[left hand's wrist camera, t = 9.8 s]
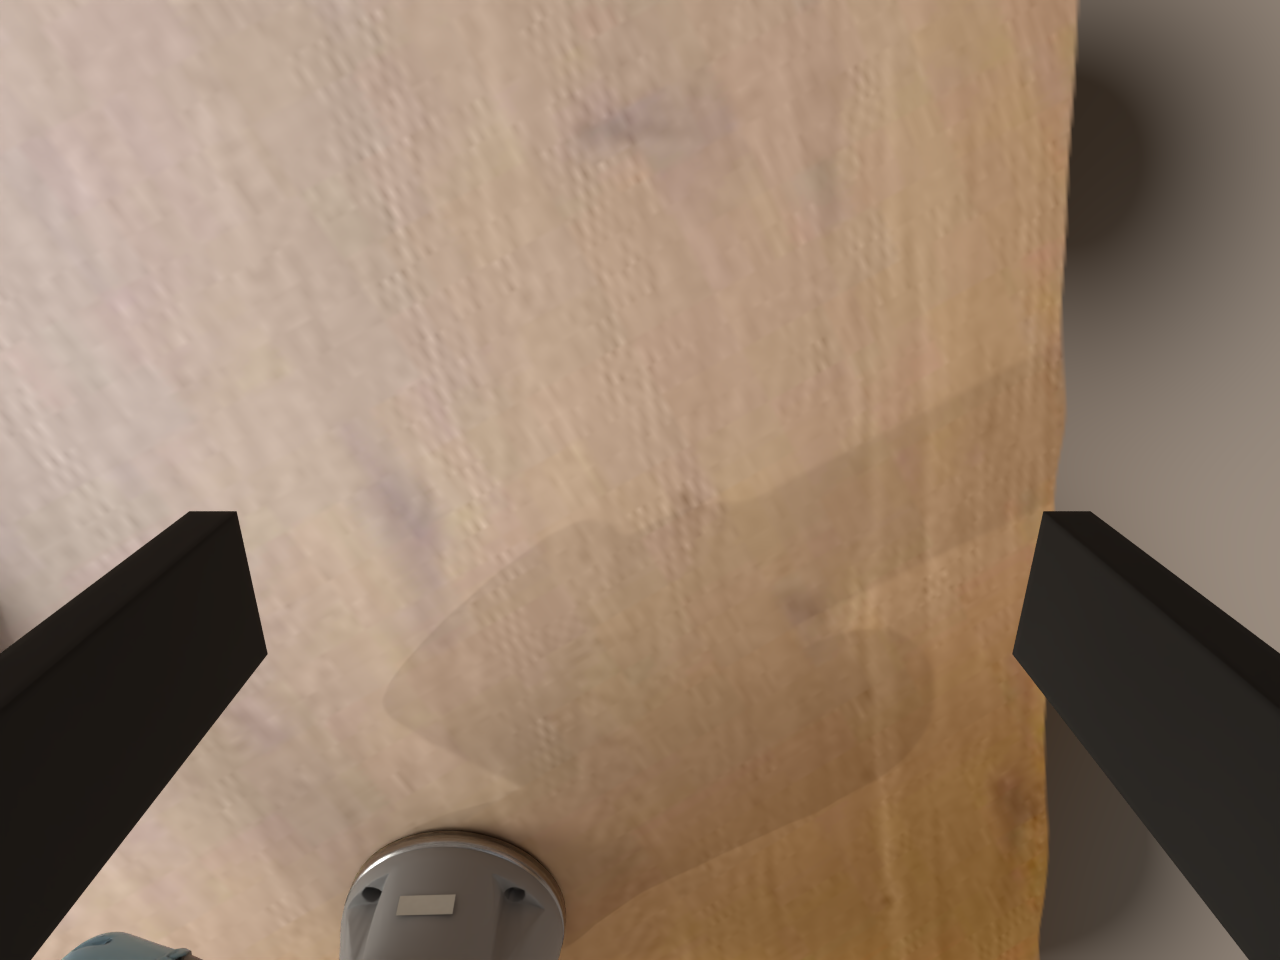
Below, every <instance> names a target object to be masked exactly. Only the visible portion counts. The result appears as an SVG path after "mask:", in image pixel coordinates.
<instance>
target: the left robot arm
mask: <svg viewBox="0 0 1280 960" xmlns="http://www.w3.org/2000/svg"><path fill="white" fill-rule="evenodd" d="M266 655H267V649H266V645H265V640H264V635H263V631H262V626H261V622H260V617H259V612H258V608H257V603H256V599H255V594H254V589H253V585H252V580H251V576H250V571H249V566H248V562H247V557H246V553H245V548H244V543H243V539H242V534H241V530H240V525H239V520H238V516H237V511H189V512H188V513H187V514H185V515H184V516H183V517H181V518H180V519H179V520H177V521H176V522H175V523H173V524H172V525H171V526H169V527H168V528H167V529H165V530H164V531H163V532H161V533H160V534H159V535H157V536H156V537H155V538H153V539H152V540H151V541H149V542H148V543H147V544H145V545H144V546H143V547H141V548H140V549H139V550H137V551H136V552H135V553H133V554H132V555H131V556H129V557H128V558H127V559H125V560H124V561H123V562H121V563H120V564H119V565H117V566H116V567H115V568H113V569H112V570H111V571H109V572H108V573H107V574H105V575H104V576H103V577H101V578H100V579H99V580H98V581H96V582H95V583H94V584H92V585H91V586H90V587H88V588H87V589H86V590H84V591H83V592H82V593H80V594H79V595H78V596H76V597H75V598H74V599H72V600H71V601H70V602H68V603H67V604H66V605H64V606H63V607H62V608H60V609H59V610H58V611H56V612H55V613H54V614H52V615H51V616H50V617H48V618H47V619H46V620H44V621H43V622H42V623H40V624H39V625H38V626H36V627H35V628H34V629H32V630H31V631H30V632H28V633H27V634H26V635H24V636H23V637H22V638H20V639H19V640H18V641H16V642H15V643H14V644H12V645H11V646H10V647H8V648H7V649H6V650H4V651H3V652H2V653H0V960H31V959H32V958H33V957H34V955H35V954H36V953H37V951H38V950H39V949H40V947H41V946H42V945H43V944H44V942H45V941H46V940H47V938H48V937H49V936H50V935H51V933H52V932H53V931H54V929H55V928H56V927H57V926H58V924H59V923H60V922H61V920H62V919H63V918H64V916H65V915H66V914H67V913H68V911H69V910H70V909H71V907H72V906H73V905H74V904H75V902H76V901H77V900H78V898H79V897H80V896H81V895H82V893H83V892H84V891H85V889H86V888H87V887H88V885H89V884H90V883H91V882H92V880H93V879H94V878H95V876H96V875H97V874H98V873H99V871H100V870H101V869H102V867H103V866H104V865H105V863H106V862H107V861H108V860H109V858H110V857H111V856H112V854H113V853H114V852H115V851H116V849H117V848H118V847H119V845H120V844H121V843H122V842H123V840H124V839H125V838H126V836H127V835H128V834H129V832H130V831H131V830H132V829H133V827H134V826H135V825H136V823H137V822H138V821H139V820H140V818H141V817H142V816H143V814H144V813H145V812H146V811H147V809H148V808H149V807H150V805H151V804H152V803H153V801H154V800H155V799H156V798H157V796H158V795H159V794H160V792H161V791H162V790H163V789H164V787H165V786H166V785H167V783H168V782H169V781H170V780H171V778H172V777H173V776H174V774H175V773H176V772H177V770H178V769H179V768H180V767H181V765H182V764H183V763H184V761H185V760H186V759H187V758H188V756H189V755H190V754H191V752H192V751H193V750H194V749H195V747H196V746H197V745H198V743H199V742H200V741H201V739H202V738H203V737H204V736H205V734H206V733H207V732H208V730H209V729H210V728H211V727H212V725H213V724H214V723H215V721H216V720H217V719H218V718H219V716H220V715H221V714H222V712H223V711H224V710H225V708H226V707H227V706H228V705H229V703H230V702H231V701H232V699H233V698H234V697H235V696H236V694H237V693H238V692H239V690H240V689H241V688H242V686H243V685H244V684H245V683H246V681H247V680H248V679H249V677H250V676H251V675H252V674H253V672H254V671H255V670H256V668H257V667H258V666H259V665H260V663H261V662H262V661H263V659H264V658H265V657H266ZM1013 655H1014V657H1015V658H1016V659H1017V661H1018V662H1019V663H1020V665H1021V666H1022V667H1023V668H1024V670H1025V671H1026V672H1027V674H1028V675H1029V676H1030V677H1031V679H1032V680H1033V681H1034V683H1035V684H1036V685H1037V686H1038V688H1039V689H1040V690H1041V692H1042V693H1043V694H1044V696H1045V697H1046V698H1047V699H1048V701H1049V702H1050V703H1051V705H1052V706H1053V707H1054V708H1055V710H1056V711H1057V712H1058V714H1059V715H1060V716H1061V718H1062V719H1063V720H1064V721H1065V723H1066V724H1067V725H1068V727H1069V728H1070V729H1071V730H1072V732H1073V733H1074V734H1075V736H1076V737H1077V738H1078V739H1079V741H1080V742H1081V743H1082V745H1083V746H1084V747H1085V749H1086V750H1087V751H1088V752H1089V754H1090V755H1091V756H1092V758H1093V759H1094V760H1095V761H1096V763H1097V764H1098V765H1099V767H1100V768H1101V769H1102V770H1103V772H1104V773H1105V774H1106V776H1107V777H1108V778H1109V779H1110V781H1111V782H1112V783H1113V785H1114V786H1115V787H1116V789H1117V790H1118V791H1119V792H1120V794H1121V795H1122V796H1123V798H1124V799H1125V800H1126V801H1127V803H1128V804H1129V805H1130V807H1131V808H1132V809H1133V811H1134V812H1135V813H1136V814H1137V816H1138V817H1139V818H1140V820H1141V821H1142V822H1143V823H1144V825H1145V826H1146V827H1147V829H1148V830H1149V831H1150V832H1151V834H1152V835H1153V836H1154V838H1155V839H1156V840H1157V842H1158V843H1159V844H1160V845H1161V847H1162V848H1163V849H1164V851H1165V852H1166V853H1167V854H1168V856H1169V857H1170V858H1171V860H1172V861H1173V862H1174V863H1175V865H1176V866H1177V867H1178V869H1179V870H1180V871H1181V872H1182V874H1183V875H1184V876H1185V878H1186V879H1187V880H1188V882H1189V883H1190V884H1191V885H1192V887H1193V888H1194V889H1195V891H1196V892H1197V893H1198V894H1199V896H1200V897H1201V898H1202V900H1203V901H1204V902H1205V904H1206V905H1207V906H1208V907H1209V909H1210V910H1211V911H1212V913H1213V914H1214V915H1215V916H1216V918H1217V919H1218V920H1219V922H1220V923H1221V924H1222V926H1223V927H1224V928H1225V929H1226V931H1227V932H1228V933H1229V935H1230V936H1231V937H1232V938H1233V940H1234V941H1235V942H1236V944H1237V945H1238V946H1239V947H1240V949H1241V950H1242V951H1243V953H1244V954H1245V955H1246V957H1247V958H1248V959H1249V960H1280V653H1278V652H1277V651H1276V650H1274V649H1273V648H1272V647H1270V646H1269V645H1268V644H1266V643H1265V642H1264V641H1262V640H1261V639H1260V638H1258V637H1257V636H1256V635H1254V634H1253V633H1252V632H1250V631H1249V630H1248V629H1246V628H1245V627H1244V626H1242V625H1241V624H1240V623H1238V622H1237V621H1236V620H1234V619H1233V618H1232V617H1230V616H1229V615H1228V614H1226V613H1225V612H1224V611H1222V610H1221V609H1220V608H1218V607H1217V606H1216V605H1214V604H1213V603H1212V602H1210V601H1209V600H1208V599H1206V598H1205V597H1204V596H1202V595H1201V594H1200V593H1198V592H1197V591H1196V590H1194V589H1193V588H1192V587H1190V586H1189V585H1188V584H1186V583H1185V582H1184V581H1182V580H1181V579H1180V578H1178V577H1177V576H1176V575H1175V574H1173V573H1172V572H1170V571H1169V570H1168V569H1167V568H1165V567H1164V566H1163V565H1161V564H1160V563H1159V562H1157V561H1156V560H1155V559H1153V558H1152V557H1150V556H1149V555H1148V554H1146V553H1145V552H1144V551H1143V550H1141V549H1140V548H1139V547H1137V546H1136V545H1135V544H1133V543H1132V542H1131V541H1129V540H1128V539H1127V538H1125V537H1124V536H1123V535H1121V534H1120V533H1119V532H1117V531H1116V530H1115V529H1113V528H1112V527H1111V526H1109V525H1108V524H1107V523H1105V522H1104V521H1103V520H1101V519H1100V518H1099V517H1097V516H1096V515H1095V514H1093V513H1092V512H1090V511H1043V516H1042V520H1041V525H1040V530H1039V534H1038V539H1037V543H1036V548H1035V553H1034V557H1033V562H1032V566H1031V571H1030V576H1029V580H1028V585H1027V589H1026V594H1025V599H1024V603H1023V608H1022V612H1021V617H1020V622H1019V626H1018V631H1017V635H1016V640H1015V645H1014V649H1013ZM565 919H566V910H565V903H564V899H563V896H562V893H561V891H560V888H559V887H558V885H557V883H556V881H555V880H554V878H553V877H552V876H551V874H550V873H549V872H548V871H547V870H546V868H545V867H544V866H542V865H541V864H540V863H539V862H538V861H537V860H536V859H534V858H533V857H532V856H530V855H529V854H527V853H526V852H524V851H523V850H521V849H519V848H517V847H515V846H514V845H512V844H509V843H507V842H505V841H502V840H499V839H496V838H493V837H490V836H486V835H482V834H477V833H472V832H464V831H433V832H425V833H420V834H415V835H412V836H408V837H405V838H402V839H399V840H397V841H395V842H393V843H391V844H388V845H387V846H385V847H383V848H382V849H380V850H379V851H377V852H376V853H375V854H373V855H372V856H371V857H370V858H369V859H368V860H367V861H366V862H365V863H364V865H363V866H362V867H361V868H360V870H359V872H358V873H357V875H356V877H355V879H354V881H353V884H352V886H351V889H350V891H349V894H348V896H347V899H346V903H345V907H344V911H343V915H342V921H341V936H340V957H339V960H558V958H559V955H560V951H561V947H562V944H563V938H564V930H565ZM62 960H202V959H200V958H197V957H195V956H193V955H192V953H191V951H190V950H188V949H186V948H180V949H172V948H169V947H166V946H163V945H160V944H157V943H154V942H151V941H148V940H145V939H143V938H140V937H137V936H134V935H131V934H128V933H124V932H110V933H105V934H101V935H98V936H96V937H93V938H91V939H89V940H87V941H85V942H84V943H82V944H80V945H79V946H78V947H76V948H75V949H74V950H72V951H71V952H70V953H69V954H68V955H66V956H65V957H64V958H63V959H62Z"/></svg>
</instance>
